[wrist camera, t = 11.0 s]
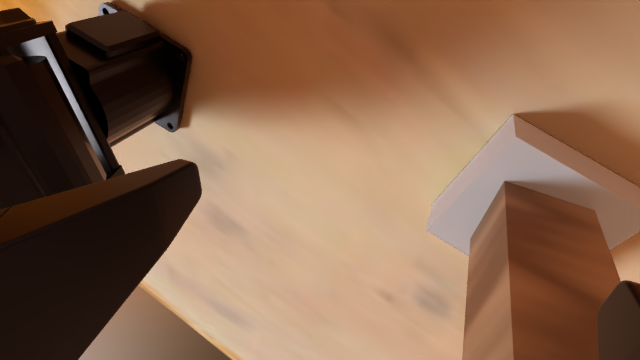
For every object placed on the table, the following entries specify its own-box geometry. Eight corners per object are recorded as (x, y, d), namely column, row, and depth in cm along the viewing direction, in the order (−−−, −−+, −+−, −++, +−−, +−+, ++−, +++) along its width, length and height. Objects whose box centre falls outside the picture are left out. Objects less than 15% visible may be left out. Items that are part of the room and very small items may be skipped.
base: (532, 264, 22) (536, 296, 20) (431, 204, 23) (426, 230, 21) (640, 188, 18) (658, 219, 16) (513, 114, 18) (515, 136, 16)
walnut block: (470, 238, 20) (452, 510, 11) (504, 180, 17) (519, 468, 8) (548, 267, 19) (601, 587, 10) (594, 210, 17) (723, 564, 7)
